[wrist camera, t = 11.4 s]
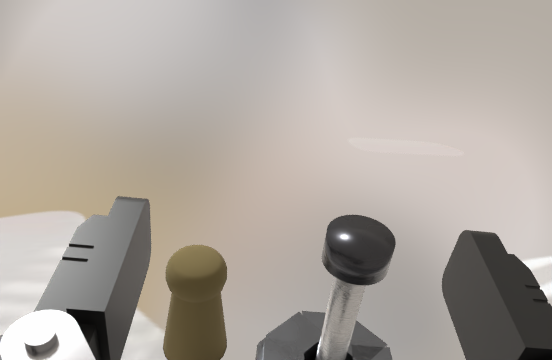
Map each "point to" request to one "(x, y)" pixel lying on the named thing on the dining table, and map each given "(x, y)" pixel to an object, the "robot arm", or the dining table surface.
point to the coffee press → (316, 341)
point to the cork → (195, 305)
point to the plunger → (351, 276)
